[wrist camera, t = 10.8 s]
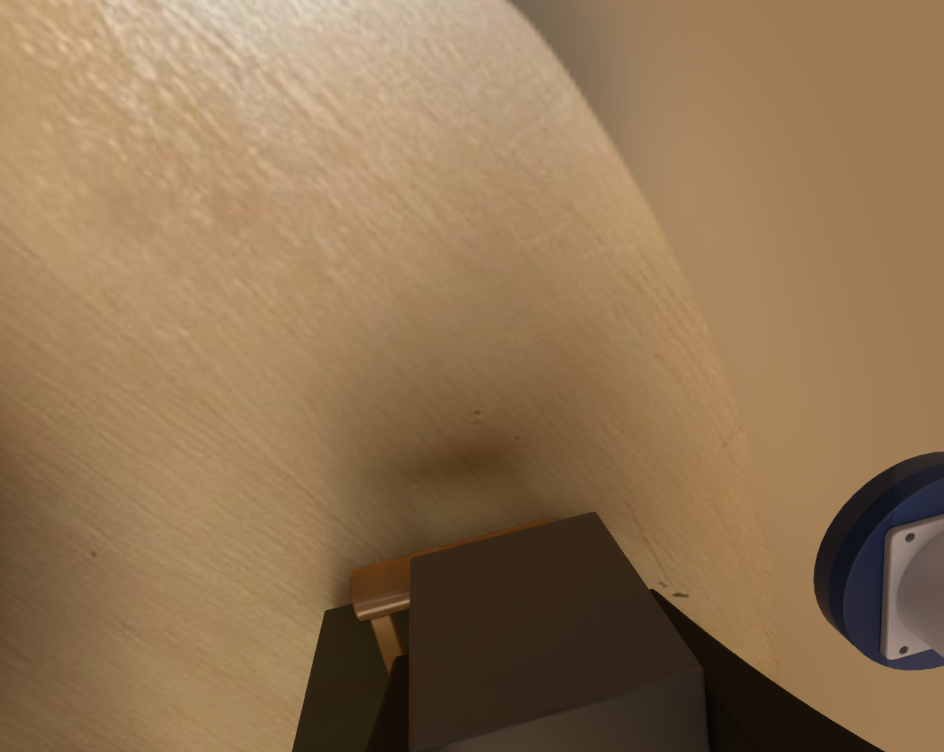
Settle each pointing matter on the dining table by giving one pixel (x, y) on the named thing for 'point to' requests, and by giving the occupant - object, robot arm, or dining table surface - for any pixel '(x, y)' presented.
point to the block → (547, 649)
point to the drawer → (360, 655)
